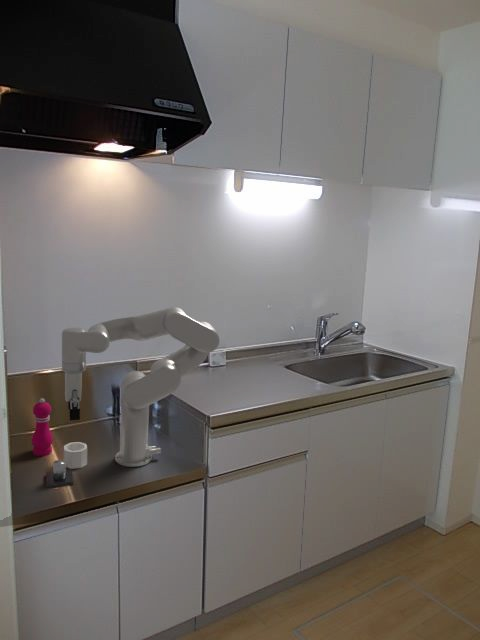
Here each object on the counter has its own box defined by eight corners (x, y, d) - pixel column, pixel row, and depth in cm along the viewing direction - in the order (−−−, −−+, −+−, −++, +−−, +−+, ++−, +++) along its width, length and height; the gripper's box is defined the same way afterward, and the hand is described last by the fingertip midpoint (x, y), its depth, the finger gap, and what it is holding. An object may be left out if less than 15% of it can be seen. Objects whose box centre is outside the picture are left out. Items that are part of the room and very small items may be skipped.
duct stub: (71, 472, 181) (72, 455, 180) (73, 484, 173) (73, 467, 172) (46, 475, 178) (46, 458, 177) (46, 487, 171) (46, 469, 169)
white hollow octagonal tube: (85, 457, 192) (85, 441, 191) (87, 467, 185) (87, 450, 184) (63, 459, 189) (63, 443, 188) (64, 469, 183) (64, 452, 181)
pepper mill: (57, 449, 196) (57, 396, 192) (44, 458, 189) (44, 403, 185) (40, 446, 198) (39, 393, 194) (27, 454, 191) (26, 400, 187)
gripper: (61, 358, 188) (61, 405, 191) (62, 374, 172) (63, 425, 175) (83, 357, 190) (83, 404, 194) (87, 372, 174) (87, 423, 178)
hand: (74, 414), depth 185 cm, fingers open, 9 cm apart
